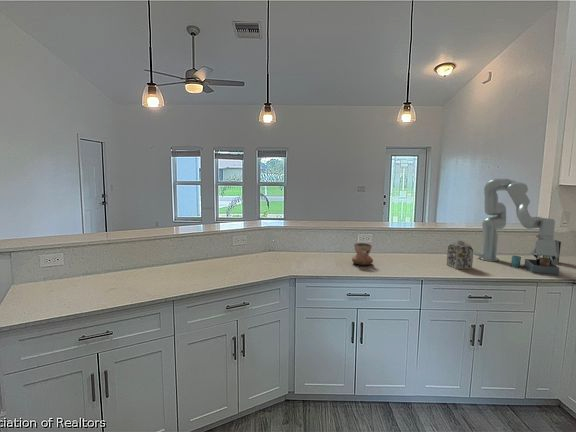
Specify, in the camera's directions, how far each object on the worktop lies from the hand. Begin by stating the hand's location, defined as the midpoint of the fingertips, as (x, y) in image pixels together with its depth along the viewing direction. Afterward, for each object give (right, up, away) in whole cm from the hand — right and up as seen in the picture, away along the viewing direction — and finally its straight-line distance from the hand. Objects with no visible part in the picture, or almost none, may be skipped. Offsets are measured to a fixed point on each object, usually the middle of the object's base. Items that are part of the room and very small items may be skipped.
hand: (543, 264), depth 215 cm
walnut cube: (0, -1, 0) cm, 1 cm away
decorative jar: (-48, -3, +13) cm, 50 cm away
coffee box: (+24, -2, +25) cm, 35 cm away
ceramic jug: (-113, -3, +21) cm, 115 cm away
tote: (+1, -4, +4) cm, 6 cm away
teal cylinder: (-9, -3, +14) cm, 17 cm away
